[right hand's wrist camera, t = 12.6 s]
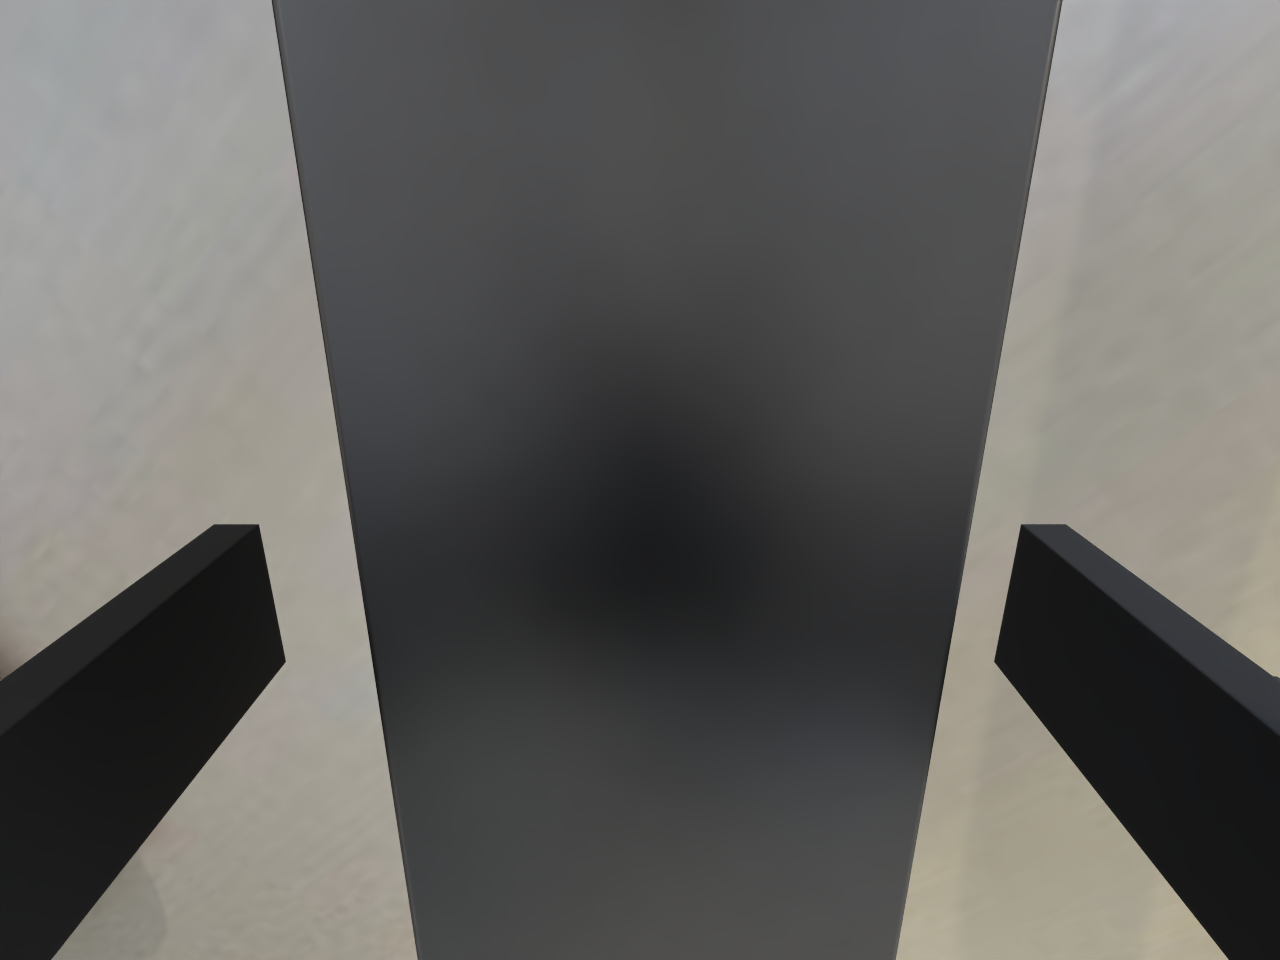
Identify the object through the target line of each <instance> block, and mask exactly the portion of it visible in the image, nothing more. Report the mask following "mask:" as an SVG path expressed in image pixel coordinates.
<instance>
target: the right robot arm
mask: <svg viewBox="0 0 1280 960" xmlns="http://www.w3.org/2000/svg"><path fill="white" fill-rule="evenodd" d="M285 662H286V660H285V655H284V650H283V645H282V640H281V635H280V630H279V625H278V620H277V614H276V609H275V604H274V599H273V594H272V589H271V584H270V579H269V574H268V569H267V564H266V558H265V553H264V548H263V543H262V538H261V533H260V528H259V524H214V525H213V526H211V527H210V528H209V529H207V530H206V531H205V532H203V533H202V534H200V535H199V536H198V537H196V538H195V539H194V540H192V541H191V542H190V543H188V544H187V545H185V546H184V547H183V548H181V549H180V550H179V551H177V552H176V553H175V554H173V555H172V556H170V557H169V558H168V559H166V560H165V561H164V562H162V563H161V564H160V565H158V566H157V567H155V568H154V569H153V570H151V571H150V572H149V573H147V574H146V575H145V576H143V577H142V578H140V579H139V580H138V581H136V582H135V583H134V584H132V585H131V586H130V587H128V588H127V589H126V590H124V591H123V592H121V593H120V594H119V595H117V596H116V597H115V598H113V599H112V600H111V601H109V602H108V603H106V604H105V605H104V606H102V607H101V608H100V609H98V610H97V611H96V612H94V613H93V614H91V615H90V616H89V617H87V618H86V619H85V620H83V621H82V622H81V623H79V624H78V625H76V626H75V627H74V628H72V629H71V630H70V631H68V632H67V633H66V634H64V635H63V636H61V637H60V638H59V639H57V640H56V641H55V642H53V643H52V644H51V645H49V646H48V647H46V648H45V649H44V650H42V651H41V652H40V653H38V654H37V655H36V656H34V657H33V658H31V659H30V660H29V661H27V662H26V663H25V664H23V665H22V666H21V667H19V668H18V669H16V670H15V671H14V672H12V673H11V674H10V675H8V676H7V677H6V678H4V679H3V680H1V681H0V960H51V959H52V958H53V957H54V955H55V954H56V953H57V952H58V950H59V949H60V948H61V946H62V945H63V944H64V943H65V941H66V940H67V939H68V938H69V936H70V935H71V934H72V933H73V931H74V930H75V929H76V927H77V926H78V925H79V924H80V922H81V921H82V920H83V919H84V917H85V916H86V915H87V913H88V912H89V911H90V910H91V908H92V907H93V906H94V905H95V903H96V902H97V901H98V900H99V898H100V897H101V896H102V894H103V893H104V892H105V891H106V889H107V888H108V887H109V886H110V884H111V883H112V882H113V880H114V879H115V878H116V877H117V875H118V874H119V873H120V872H121V870H122V869H123V868H124V866H125V865H126V864H127V863H128V861H129V860H130V859H131V858H132V856H133V855H134V854H135V853H136V851H137V850H138V849H139V847H140V846H141V845H142V844H143V842H144V841H145V840H146V839H147V837H148V836H149V835H150V833H151V832H152V831H153V830H154V828H155V827H156V826H157V825H158V823H159V822H160V821H161V820H162V818H163V817H164V816H165V814H166V813H167V812H168V811H169V809H170V808H171V807H172V806H173V804H174V803H175V802H176V800H177V799H178V798H179V797H180V795H181V794H182V793H183V792H184V790H185V789H186V788H187V787H188V785H189V784H190V783H191V781H192V780H193V779H194V778H195V776H196V775H197V774H198V773H199V771H200V770H201V769H202V767H203V766H204V765H205V764H206V762H207V761H208V760H209V759H210V757H211V756H212V755H213V754H214V752H215V751H216V750H217V748H218V747H219V746H220V745H221V743H222V742H223V741H224V740H225V738H226V737H227V736H228V734H229V733H230V732H231V731H232V729H233V728H234V727H235V726H236V724H237V723H238V722H239V720H240V719H241V718H242V717H243V715H244V714H245V713H246V712H247V710H248V709H249V708H250V707H251V705H252V704H253V703H254V701H255V700H256V699H257V698H258V696H259V695H260V694H261V693H262V691H263V690H264V689H265V687H266V686H267V685H268V684H269V682H270V681H271V680H272V679H273V677H274V676H275V675H276V674H277V672H278V671H279V670H280V668H281V667H282V666H283V665H284V663H285ZM994 662H995V663H996V665H997V666H998V667H999V668H1000V670H1001V671H1002V672H1003V674H1004V675H1005V676H1006V677H1007V679H1008V680H1009V681H1010V682H1011V684H1012V685H1013V686H1014V687H1015V689H1016V690H1017V691H1018V693H1019V694H1020V695H1021V696H1022V698H1023V699H1024V700H1025V701H1026V703H1027V704H1028V705H1029V707H1030V708H1031V709H1032V710H1033V712H1034V713H1035V714H1036V715H1037V717H1038V718H1039V719H1040V721H1041V722H1042V723H1043V724H1044V726H1045V727H1046V728H1047V729H1048V731H1049V732H1050V733H1051V734H1052V736H1053V737H1054V738H1055V740H1056V741H1057V742H1058V743H1059V745H1060V746H1061V747H1062V748H1063V750H1064V751H1065V752H1066V754H1067V755H1068V756H1069V757H1070V759H1071V760H1072V761H1073V762H1074V764H1075V765H1076V766H1077V767H1078V769H1079V770H1080V771H1081V773H1082V774H1083V775H1084V776H1085V778H1086V779H1087V780H1088V781H1089V783H1090V784H1091V785H1092V787H1093V788H1094V789H1095V790H1096V792H1097V793H1098V794H1099V795H1100V797H1101V798H1102V799H1103V800H1104V802H1105V803H1106V804H1107V806H1108V807H1109V808H1110V809H1111V811H1112V812H1113V813H1114V814H1115V816H1116V817H1117V818H1118V820H1119V821H1120V822H1121V823H1122V825H1123V826H1124V827H1125V828H1126V830H1127V831H1128V832H1129V833H1130V835H1131V836H1132V837H1133V839H1134V840H1135V841H1136V842H1137V844H1138V845H1139V846H1140V847H1141V849H1142V850H1143V851H1144V853H1145V854H1146V855H1147V856H1148V858H1149V859H1150V860H1151V861H1152V863H1153V864H1154V865H1155V867H1156V868H1157V869H1158V870H1159V872H1160V873H1161V874H1162V875H1163V877H1164V878H1165V879H1166V880H1167V882H1168V883H1169V884H1170V886H1171V887H1172V888H1173V889H1174V891H1175V892H1176V893H1177V894H1178V896H1179V897H1180V898H1181V900H1182V901H1183V902H1184V903H1185V905H1186V906H1187V907H1188V908H1189V910H1190V911H1191V912H1192V913H1193V915H1194V916H1195V917H1196V919H1197V920H1198V921H1199V922H1200V924H1201V925H1202V926H1203V927H1204V929H1205V930H1206V931H1207V933H1208V934H1209V935H1210V936H1211V938H1212V939H1213V940H1214V941H1215V943H1216V944H1217V945H1218V946H1219V948H1220V949H1221V950H1222V952H1223V953H1224V954H1225V955H1226V957H1227V958H1228V959H1229V960H1280V678H1278V677H1276V676H1272V675H1270V674H1269V673H1268V672H1266V671H1265V670H1264V669H1262V668H1261V667H1259V666H1258V665H1257V664H1255V663H1254V662H1253V661H1251V660H1250V659H1249V658H1247V657H1246V656H1244V655H1243V654H1242V653H1240V652H1239V651H1238V650H1236V649H1235V648H1234V647H1232V646H1231V645H1229V644H1228V643H1227V642H1225V641H1224V640H1223V639H1221V638H1220V637H1219V636H1217V635H1216V634H1214V633H1213V632H1212V631H1210V630H1209V629H1208V628H1206V627H1205V626H1204V625H1202V624H1201V623H1199V622H1198V621H1197V620H1195V619H1194V618H1193V617H1191V616H1190V615H1189V614H1187V613H1186V612H1184V611H1183V610H1182V609H1180V608H1179V607H1178V606H1176V605H1175V604H1174V603H1172V602H1171V601H1169V600H1168V599H1167V598H1165V597H1164V596H1163V595H1161V594H1160V593H1159V592H1157V591H1156V590H1154V589H1153V588H1152V587H1150V586H1149V585H1148V584H1146V583H1145V582H1144V581H1142V580H1141V579H1139V578H1138V577H1137V576H1135V575H1134V574H1133V573H1131V572H1130V571H1129V570H1127V569H1126V568H1125V567H1123V566H1122V565H1120V564H1119V563H1118V562H1116V561H1115V560H1114V559H1112V558H1111V557H1110V556H1108V555H1107V554H1105V553H1104V552H1103V551H1101V550H1100V549H1099V548H1097V547H1096V546H1095V545H1093V544H1092V543H1090V542H1089V541H1088V540H1086V539H1085V538H1084V537H1082V536H1081V535H1080V534H1078V533H1077V532H1075V531H1074V530H1073V529H1071V528H1070V527H1069V526H1067V525H1066V524H1021V528H1020V533H1019V538H1018V543H1017V548H1016V553H1015V558H1014V563H1013V569H1012V574H1011V579H1010V584H1009V589H1008V594H1007V599H1006V604H1005V609H1004V614H1003V619H1002V625H1001V630H1000V635H999V640H998V645H997V650H996V655H995V660H994Z"/></svg>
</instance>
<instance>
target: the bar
mask: <svg viewBox="0 0 1280 960" xmlns="http://www.w3.org/2000/svg"><path fill="white" fill-rule="evenodd" d="M272 5H273V12H274V19H275V25H276V32H277V38H278V45H279V51H280V58H281V64H282V71H283V78H284V84H285V91H286V97H287V104H288V110H289V117H290V124H291V130H292V137H293V143H294V150H295V156H296V163H297V169H298V176H299V183H300V189H301V196H302V202H303V209H304V215H305V222H306V229H307V235H308V242H309V248H310V255H311V261H312V268H313V275H314V281H315V288H316V294H317V301H318V307H319V314H320V320H321V327H322V334H323V340H324V347H325V353H326V360H327V366H328V373H329V380H330V386H331V393H332V399H333V406H334V412H335V419H336V426H337V432H338V439H339V445H340V452H341V458H342V465H343V471H344V478H345V485H346V491H347V498H348V504H349V511H350V517H351V524H352V531H353V537H354V544H355V550H356V557H357V563H358V570H359V576H360V583H361V590H362V596H363V603H364V609H365V616H366V622H367V629H368V636H369V642H370V649H371V655H372V662H373V668H374V675H375V682H376V688H377V695H378V701H379V708H380V714H381V721H382V727H383V734H384V741H385V747H386V754H387V760H388V767H389V773H390V780H391V787H392V793H393V800H394V806H395V813H396V819H397V826H398V833H399V839H400V846H401V852H402V859H403V865H404V872H405V878H406V885H407V892H408V898H409V905H410V911H411V918H412V924H413V931H414V938H415V944H416V951H417V957H418V960H896V954H897V948H898V943H899V937H900V931H901V925H902V920H903V914H904V908H905V902H906V897H907V891H908V885H909V879H910V874H911V868H912V862H913V856H914V851H915V845H916V839H917V833H918V828H919V822H920V816H921V810H922V805H923V799H924V793H925V787H926V782H927V776H928V770H929V764H930V759H931V753H932V747H933V741H934V736H935V730H936V724H937V719H938V713H939V707H940V701H941V696H942V690H943V684H944V678H945V673H946V667H947V661H948V655H949V650H950V644H951V638H952V632H953V627H954V621H955V615H956V609H957V604H958V598H959V592H960V586H961V581H962V575H963V569H964V563H965V558H966V552H967V546H968V540H969V535H970V529H971V523H972V517H973V512H974V506H975V500H976V494H977V489H978V483H979V477H980V471H981V466H982V460H983V454H984V448H985V443H986V437H987V431H988V425H989V420H990V414H991V408H992V402H993V397H994V391H995V385H996V379H997V374H998V368H999V362H1000V356H1001V351H1002V345H1003V339H1004V333H1005V328H1006V322H1007V316H1008V310H1009V305H1010V299H1011V293H1012V287H1013V282H1014V276H1015V270H1016V264H1017V259H1018V253H1019V247H1020V241H1021V236H1022V230H1023V224H1024V218H1025V213H1026V207H1027V201H1028V195H1029V190H1030V184H1031V178H1032V172H1033V167H1034V161H1035V155H1036V149H1037V144H1038V138H1039V132H1040V126H1041V121H1042V115H1043V109H1044V103H1045V98H1046V92H1047V86H1048V80H1049V75H1050V69H1051V63H1052V57H1053V52H1054V46H1055V40H1056V34H1057V29H1058V23H1059V17H1060V11H1061V6H1062V0H272Z"/></svg>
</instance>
